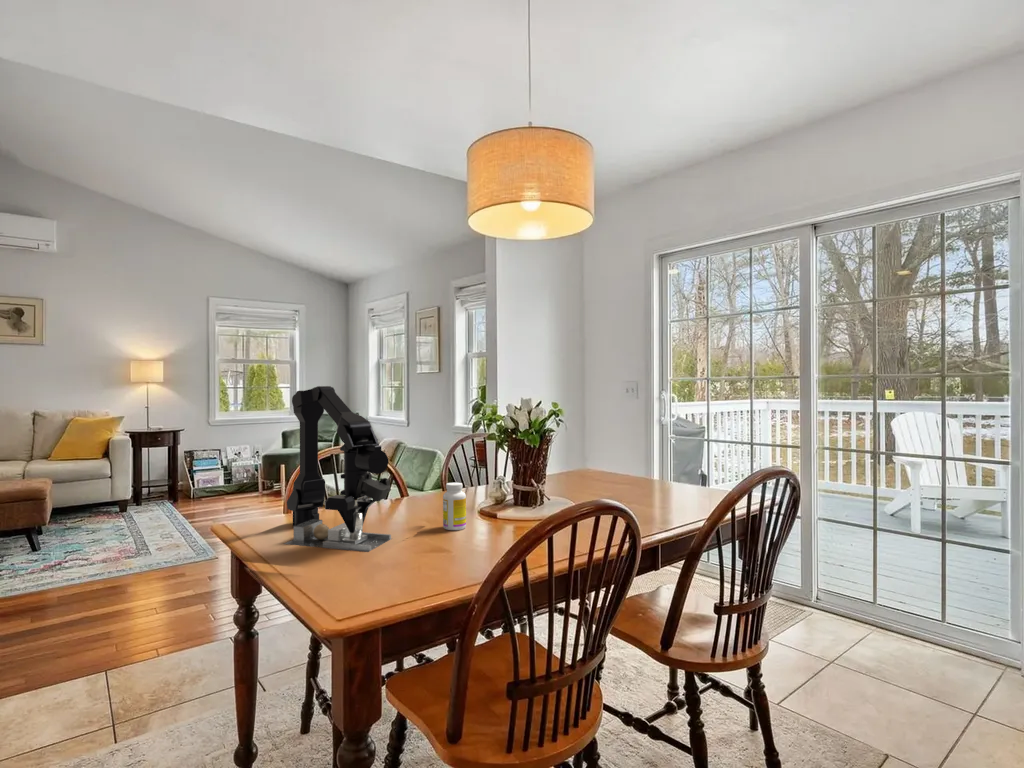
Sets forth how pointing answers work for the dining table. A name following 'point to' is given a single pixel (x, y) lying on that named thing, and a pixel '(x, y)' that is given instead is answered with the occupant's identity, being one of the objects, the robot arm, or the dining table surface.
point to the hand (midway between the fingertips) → (355, 530)
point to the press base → (307, 538)
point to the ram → (343, 534)
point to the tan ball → (321, 531)
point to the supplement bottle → (454, 507)
